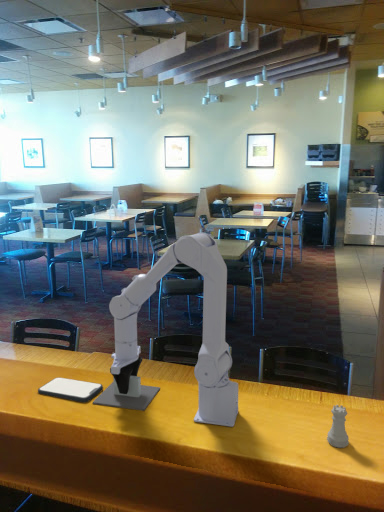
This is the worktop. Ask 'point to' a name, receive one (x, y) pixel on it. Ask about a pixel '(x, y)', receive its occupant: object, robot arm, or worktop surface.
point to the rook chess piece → (338, 428)
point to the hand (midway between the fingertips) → (127, 388)
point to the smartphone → (71, 389)
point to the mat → (127, 398)
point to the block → (130, 387)
